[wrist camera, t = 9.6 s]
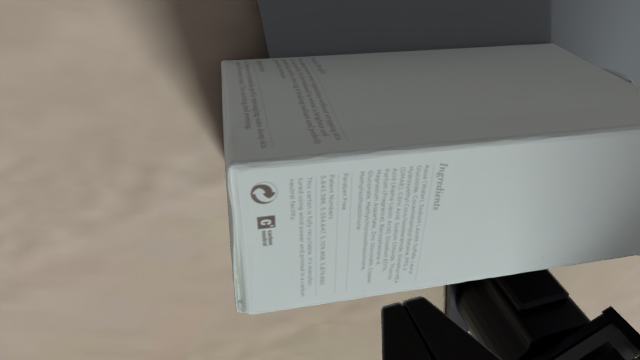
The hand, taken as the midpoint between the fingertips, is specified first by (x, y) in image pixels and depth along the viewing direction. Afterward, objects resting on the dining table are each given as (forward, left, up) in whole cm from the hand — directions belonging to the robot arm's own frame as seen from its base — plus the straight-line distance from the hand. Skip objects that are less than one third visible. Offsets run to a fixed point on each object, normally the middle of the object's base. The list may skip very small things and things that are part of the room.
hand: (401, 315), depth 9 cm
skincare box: (-1, +3, -9) cm, 9 cm away
